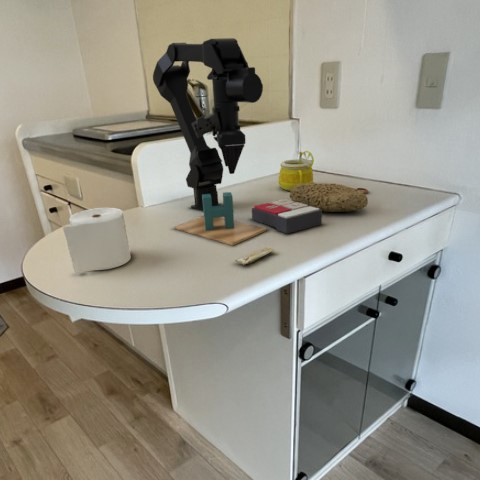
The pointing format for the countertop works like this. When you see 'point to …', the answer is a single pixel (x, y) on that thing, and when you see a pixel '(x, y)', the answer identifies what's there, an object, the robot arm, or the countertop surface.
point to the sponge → (329, 197)
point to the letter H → (218, 211)
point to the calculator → (287, 215)
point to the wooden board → (221, 230)
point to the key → (363, 190)
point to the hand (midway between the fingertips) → (229, 169)
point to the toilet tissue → (97, 239)
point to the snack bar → (254, 256)
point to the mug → (296, 172)
